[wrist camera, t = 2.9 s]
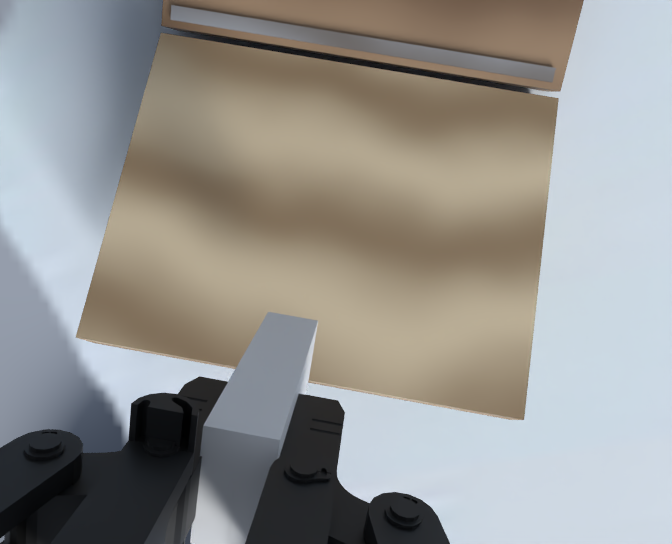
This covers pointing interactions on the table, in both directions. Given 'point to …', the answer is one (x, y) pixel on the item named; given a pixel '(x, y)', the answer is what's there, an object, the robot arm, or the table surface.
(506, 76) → the walnut board
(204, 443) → the robot arm
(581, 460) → the table surface
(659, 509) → the table surface
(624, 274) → the table surface
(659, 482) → the table surface
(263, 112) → the oak plank
